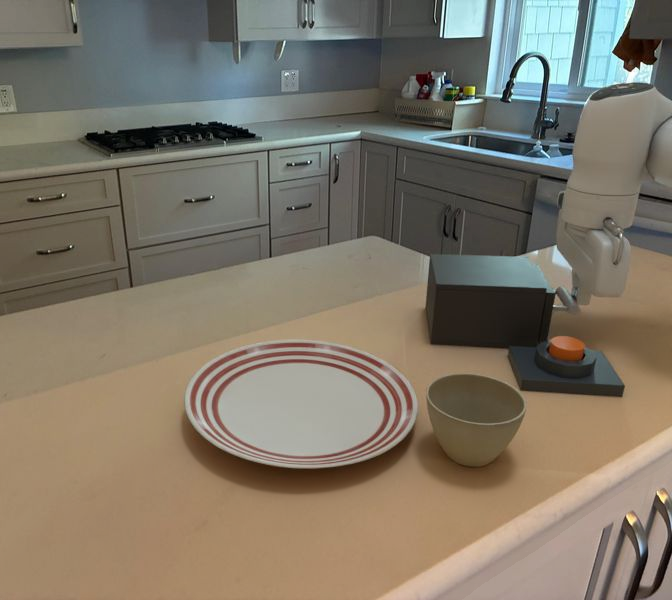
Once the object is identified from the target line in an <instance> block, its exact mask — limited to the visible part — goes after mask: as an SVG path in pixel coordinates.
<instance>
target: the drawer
mask: <svg viewBox="0 0 672 600" xmlns="http://www.w3.org/2000/svg"><path fill="white" fill-rule="evenodd" d="M531 264H532V266H533V267H534V269H535V271H536V272H537V274H538V275H539V277H540V279H541V280H542V282H543V283H544V285H545V287H546V288H547V290H546V296H545V302H544V308H543V314H542V319H541V325H540V331H539V337H538V343H537V344H540V343H541V342H545V341H548V339H549V334H550V333H549V332H550V328H551V323H552V316H553V312H554V311H555V312H567V313H568V314H569V315H570V316H576V315H578V314H579V313H580V312H581V307H580V305H578V304H577V303H576V302H575V300H574V299H573V297H572V296H571V293H570V291H569V290H568V289H567V287H566V286H562V285H561V286H558V287H557V288H556V289H554V288H553V287H552V286H551V283H550V282H549V281H548V279H547V277H546V276H545V275H544V273H543V270H541V268H540V267H539V265H538V264H537V263H531ZM556 296H557V298H558V299H559V300H560V302H561V303H562V305H555V299H556Z"/></svg>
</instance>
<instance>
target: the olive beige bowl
mask: <svg viewBox="0 0 672 600" xmlns="http://www.w3.org/2000/svg"><path fill="white" fill-rule="evenodd" d="M425 399H426V407H427V412H428V417H429V421H430V424H431V428H432V430H433V432H434V435H435V437H436V439H437V441H438V443H439V445H440V447H441V448H442V450H443V451H444V453H445V454H446V456H447V457H448V458H449V460H451V461H453V462H455V463H457V464H458V465H461V466H465V467H472V468H479V467H484V466H487V465H489V464H490V463H492V462H493V461H494V460H495V459H497V458H498V457H499V456H500V455H501V454H502V453H503V452H504V451H505V450H506V448H507V447H508V446H509V445H510V444H511V442H512V441H513V439H514V438H515V436H516V435H517V433H518V431H519V429H520V427H521V426H522V423H523V420H524V418H525V415H526V412H527V407H528V405H527V400H526V398H525V395H524V394H523V393H522V392H521V391H520V389H518V388H516V387H515V386H513V385H512V384H510V383H508V382H506V381H504V380H502V379H499V378H496V377H494V376H489V375H486V374H480V373H474V372H473V373H471V372H456V373H449V374H444V375H441V376H439V377H436V378H435V379H433V380H432V381H431V382H430V383H428V385H427V388H426V391H425Z"/></svg>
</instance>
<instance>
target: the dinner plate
mask: <svg viewBox="0 0 672 600" xmlns="http://www.w3.org/2000/svg"><path fill="white" fill-rule="evenodd" d="M183 401H184V410H185V413H186V416H187V419H188V420H189V422H190V424H191V425H192V426H193V428H194V429H195V431H197V433H198V434H199V435H201V436H202V437H203V439H205V440H206V441H208V442H209V443H210V444H212V445H214V446H215V447H217V448H219V449H220V450H222V451H224V452H226V453H227V454H230V455H233V456H235V457H238V458H240V459H243V460H247V461H250V462H254V463H257V464H262V465H267V466H272V467H277V468H278V467H279V468H286V469H287V468H289V469H325V468H326V469H327V468H334V467H342V466H348V465H352V464H357V463H360V462H364V461H367V460H370V459H373V458H375V457H378V456H380V455H382V454H384V453H386V452H387V451H389V450H391V449H392V448H394V447H396V446H397V445H398V444H399V443H400V442H402V441H403V440H404V439H405V438H406V437H407V436H408V435H409V433H410V432H411V431H412V429H413V428H414V426H415V423H416V421H417V418H418V413H419V400H418V396H417V394H416V392H415V390H414V387H413V386H412V384H411V383H410V381H409V380H408V379H407V377H405V376H404V374H403V373H401V372H400V371H399V370H398V369H397V368H396V367H394V366H392V365H391V364H390V363H388V362H386V361H385V360H384V359H381V358H380V357H378V356H376V355H373V354H371V353H369V352H367V351H364V350H361V349H358V348H357V347H352V346H348V345H345V344H341V343H335V342H330V341H323V340H315V339H277V340H268V341H263V342H257V343H252V344H248V345H244V346H240V347H238V348H235V349H232V350H230V351H227V352H225V353H223V354H220V355H218V356H216V357H214V358H212V359H211V360H209V361H208V362H207V363H205V364H204V365H203V366H201V367H200V368H199V369H198V370H197V371H196V372H195V373H194V375H193V376H192V378H191V379H190V381H189V382H188V385H187V387H186V388H185V393H184V400H183Z"/></svg>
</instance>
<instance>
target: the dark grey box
mask: <svg viewBox="0 0 672 600" xmlns="http://www.w3.org/2000/svg"><path fill="white" fill-rule="evenodd" d="M532 264H533V263H532V262H531V261H530V260H529V258H528V256H507V255H474V254H449V253H448V254H447V253H446V254H445V253H443V254H441V253H430V254H429V261H428V274H427V284H426V296H425V297H426V298H425V306H424V307H425V309H424V310H425V316H426V323H427V330H428V335H429V343H430V345H433V346H450V347H468V348H469V347H470V348H485V349H486V348H487V349H488V348H489V349H502V350H503V349H505V350H509V346H522V347H537V346H538V344H539V343H538V337H539V331H540V325H541V319H542V314H543V308H544V302H545V296H546V290H547V288H546V287H545V285H544V283H543V282H542V280H541V279H540V277H539V275H538V274H537V272H536V271H535V269H534V267H533V266H532Z"/></svg>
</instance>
